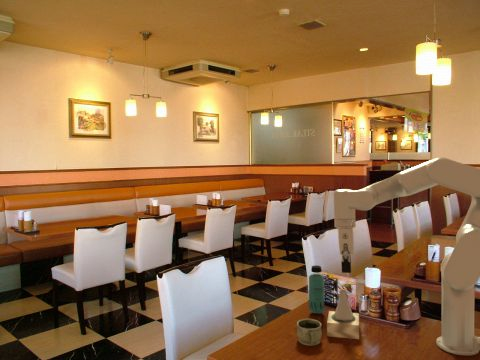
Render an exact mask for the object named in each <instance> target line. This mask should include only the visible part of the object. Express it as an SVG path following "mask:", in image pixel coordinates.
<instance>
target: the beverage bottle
mask: <svg viewBox="0 0 480 360" xmlns="http://www.w3.org/2000/svg"><path fill="white" fill-rule="evenodd" d="M310 270H311V272H312V273H311V274H309V276H308V311H309V312H311V313H313V314H322V313H324V312H325V308H326V307H325V305H326V304H325V296H326V295H325V277H324V275H323V274H322V267H321V266H320V265H315V264H314V265H311V269H310Z"/></svg>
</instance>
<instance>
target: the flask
mask: <svg viewBox="0 0 480 360" xmlns="http://www.w3.org/2000/svg"><path fill="white" fill-rule="evenodd" d="M348 292H349V291H348V290H347V289H339V290H338V293H339V299H338V302H337V304H336V305H337V306H336V308H335V314H334V317H335V318H336V319H338V320H343V321H347V320H352V319H353V318H354V316H353V313H354V312H352V309H351V306H350V303H349V299H348Z"/></svg>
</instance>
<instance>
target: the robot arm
mask: <svg viewBox="0 0 480 360" xmlns="http://www.w3.org/2000/svg"><path fill="white" fill-rule="evenodd" d="M436 186H442V187H444V188H446V189H447V188H448V189H450V190H453V191H457V192H460V193H464V194H466V195H469V196H471V200H470V201H471V203H470V206H469V208H468V210H467V212H466V215H465V217H464V219H463V221H462V224H461V225H460V227H459V229H458V230H457V233H456V235H455V242H456V244H455V246H454V248H453V249H452V252H450V253H447V255H445V256H444V257H443V258H442V261H441V263H440V272H441V273H440V274H441V275H440V276H441V277H440V278H441V336H439V337H437V338H436V341H435V342H436V346H437V347H439V348H440V349H441V350H443V351H444V352H447V353H449V354H450V353H451V354H452V355H458V356H470V357H471V356H475V355H477V354H480V353H479V352H480V336H476V335H475V285H476V284H477V283H478V281H479V279H480V168H479V167H476V166H473V165H468V164H465V163H461V162H458V161H456V160H453V159H450V158H447V157H442V156H440V157H436V158H433V159H430V160H428V161H425V162H423V163H420V164H418V165H415V166H413V167H411V168H408V169H405V170H403V171H400V172H397V173H396V174H394V175H393V176H390V177H388V178H385V179H383V180H381V181H378V182H375V183H372V184H370V185H368V186H366V187H363V188H361V189H358V190H353V189H349V188H341V189H340V188H339V189H335V190H334V191H333V214H334V215H333V219H334V228H337V232H338V233H337V235H338V249H339V254H340V255H341V273H342V274H343V273H345V274H351V273H352V259H351V255H352V256H354V255H355V247H354V246H355V245H354V244H355V243H354V242H355V241H354V238H355V237H354V228H357V227H356V224H357V222H356V210H358V211H370V210H371V209H373V208H374V207H375V206H377V205H379V204H382V203H384V202H387V201H390V200H392V199H396V198H401V197H408V196H413V195H415V194H417V193H420V192H423V191H426V190H428V189H430V188H431V189H432V188H433V187H436Z"/></svg>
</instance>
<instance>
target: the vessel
mask: <svg viewBox="0 0 480 360" xmlns="http://www.w3.org/2000/svg"><path fill="white" fill-rule="evenodd" d="M296 329H297V331H296V336H297V338H298V342H299V343H300V344H301V345H304V346H309V347H310V346H311V347H312V346H316V345H319V344H320V343H321V338H322V335H323V334H322V333H323V332H322V323H321V322H320V321H319V320H317V319H313V318H303V319H299V320H298V321H297V322H296Z"/></svg>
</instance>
